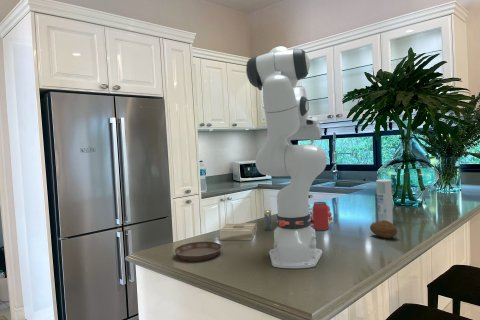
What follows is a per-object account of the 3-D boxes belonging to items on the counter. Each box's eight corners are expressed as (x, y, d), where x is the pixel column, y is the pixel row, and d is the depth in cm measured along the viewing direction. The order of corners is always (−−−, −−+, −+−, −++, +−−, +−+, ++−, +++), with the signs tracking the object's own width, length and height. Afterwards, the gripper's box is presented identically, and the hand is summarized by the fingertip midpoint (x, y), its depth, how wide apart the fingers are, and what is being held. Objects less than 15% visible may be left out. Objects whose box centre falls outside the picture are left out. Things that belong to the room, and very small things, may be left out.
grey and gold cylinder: (271, 230, 165) (270, 211, 164) (264, 230, 165) (263, 211, 165) (272, 229, 168) (270, 210, 167) (265, 229, 168) (264, 210, 168)
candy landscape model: (294, 230, 164) (293, 210, 164) (273, 220, 187) (272, 203, 186) (340, 223, 172) (339, 204, 172) (315, 214, 194) (314, 198, 194)
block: (252, 239, 151) (251, 230, 151) (219, 240, 154) (219, 231, 153) (257, 231, 164) (256, 223, 164) (227, 232, 167) (226, 223, 167)
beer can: (329, 230, 158) (327, 203, 157) (313, 230, 159) (312, 204, 159) (328, 227, 164) (327, 201, 164) (313, 227, 166) (312, 201, 165)
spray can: (396, 224, 161) (394, 180, 161) (384, 225, 160) (382, 181, 159) (386, 221, 168) (384, 179, 167) (375, 223, 166) (372, 180, 165)
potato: (376, 233, 148) (375, 216, 148) (403, 238, 139) (402, 220, 139) (366, 236, 144) (365, 219, 144) (393, 242, 135) (392, 223, 135)
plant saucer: (232, 253, 134) (231, 245, 134) (193, 267, 122) (193, 258, 122) (203, 246, 147) (202, 239, 147) (166, 257, 135) (165, 249, 135)
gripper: (276, 122, 173) (278, 149, 177) (318, 121, 164) (320, 149, 168) (280, 119, 178) (282, 146, 182) (321, 118, 170) (323, 146, 174)
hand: (301, 148), depth 175 cm, fingers open, 8 cm apart
